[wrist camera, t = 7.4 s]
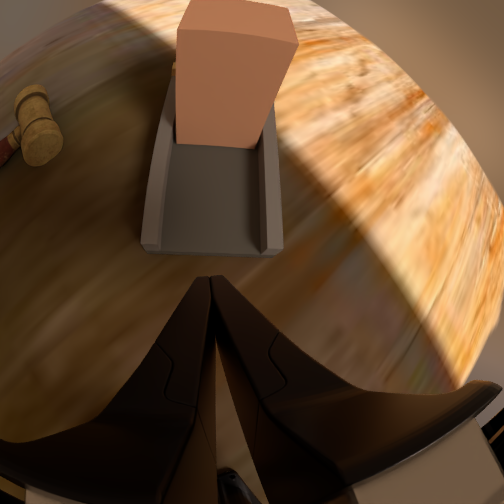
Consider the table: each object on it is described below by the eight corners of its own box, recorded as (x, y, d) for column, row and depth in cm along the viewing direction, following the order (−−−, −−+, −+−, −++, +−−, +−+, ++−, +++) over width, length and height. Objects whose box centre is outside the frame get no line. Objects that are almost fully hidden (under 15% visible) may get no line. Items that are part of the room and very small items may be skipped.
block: (254, 149, 23) (299, 44, 12) (176, 143, 22) (177, 29, 11) (253, 104, 25) (287, 8, 13) (184, 98, 23) (192, -4, 12)
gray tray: (272, 257, 23) (287, 245, 19) (147, 253, 21) (137, 239, 17) (264, 96, 27) (274, 71, 23) (173, 88, 25) (173, 62, 21)
